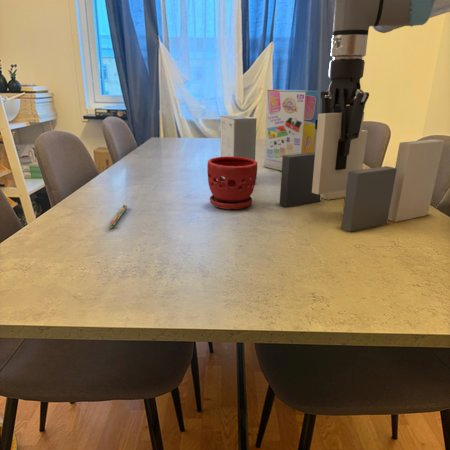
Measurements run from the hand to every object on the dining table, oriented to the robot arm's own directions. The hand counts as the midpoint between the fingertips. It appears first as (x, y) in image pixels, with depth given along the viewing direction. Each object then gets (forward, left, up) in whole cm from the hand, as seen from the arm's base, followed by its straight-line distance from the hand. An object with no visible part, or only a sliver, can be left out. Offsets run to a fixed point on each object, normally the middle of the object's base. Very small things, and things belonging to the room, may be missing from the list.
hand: (335, 167), depth 106 cm
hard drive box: (+46, 0, -12) cm, 48 cm away
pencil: (+22, +49, -12) cm, 55 cm away
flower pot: (+19, +18, -12) cm, 29 cm away
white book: (0, 0, -6) cm, 6 cm away
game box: (+51, -25, -12) cm, 58 cm away
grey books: (0, 0, -11) cm, 11 cm away
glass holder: (+69, -54, -12) cm, 88 cm away
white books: (0, -15, -11) cm, 19 cm away
